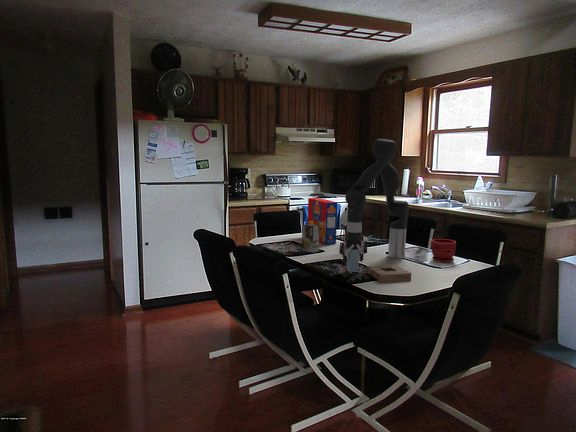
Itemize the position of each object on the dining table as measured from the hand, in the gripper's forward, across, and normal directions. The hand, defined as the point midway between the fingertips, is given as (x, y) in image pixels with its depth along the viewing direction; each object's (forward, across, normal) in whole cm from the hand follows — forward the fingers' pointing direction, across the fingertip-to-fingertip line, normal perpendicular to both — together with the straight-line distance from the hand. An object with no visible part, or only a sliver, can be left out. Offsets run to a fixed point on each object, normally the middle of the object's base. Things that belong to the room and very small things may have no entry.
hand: (352, 261), depth 212 cm
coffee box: (+5, +7, -48) cm, 49 cm away
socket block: (+5, -14, +11) cm, 18 cm away
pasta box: (+5, -10, -76) cm, 77 cm away
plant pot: (+5, -59, -9) cm, 60 cm away
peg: (+5, 0, 0) cm, 5 cm away
